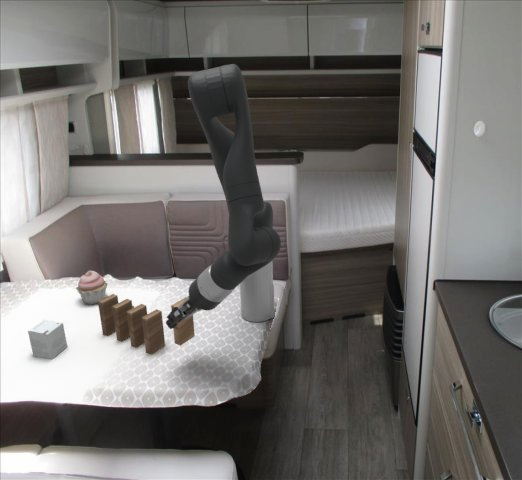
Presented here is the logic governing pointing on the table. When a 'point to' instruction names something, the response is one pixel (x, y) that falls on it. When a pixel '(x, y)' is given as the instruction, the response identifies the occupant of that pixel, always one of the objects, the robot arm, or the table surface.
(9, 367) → the table surface
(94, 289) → the cupcake
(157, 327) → the domino
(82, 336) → the table surface
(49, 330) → the skincare box
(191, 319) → the domino
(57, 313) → the table surface
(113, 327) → the domino
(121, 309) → the domino
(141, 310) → the domino
